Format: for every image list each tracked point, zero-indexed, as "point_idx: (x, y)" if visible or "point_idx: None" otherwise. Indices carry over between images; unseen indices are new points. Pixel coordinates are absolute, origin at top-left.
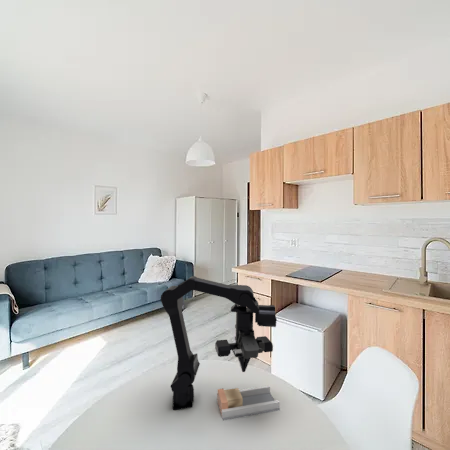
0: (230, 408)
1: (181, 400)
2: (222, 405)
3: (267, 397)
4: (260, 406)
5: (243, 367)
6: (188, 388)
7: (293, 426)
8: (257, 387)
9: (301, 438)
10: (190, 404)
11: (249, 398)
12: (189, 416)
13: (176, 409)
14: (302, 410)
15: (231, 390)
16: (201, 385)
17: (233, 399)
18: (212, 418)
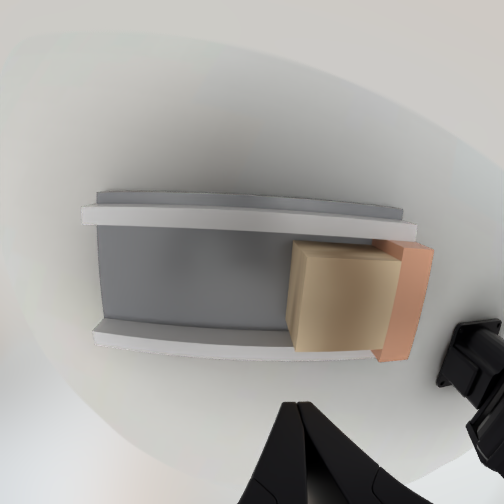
0: (374, 236)
1: (497, 336)
2: (422, 246)
3: (125, 291)
4: (194, 208)
5: (319, 434)
6: (502, 364)
7: (89, 112)
8: (158, 350)
9: (96, 57)
10: (462, 334)
11: (222, 312)
12: (475, 284)
13: (494, 319)
14: (22, 190)
15: (344, 339)
16: (383, 424)
17: (367, 259)
18: None
